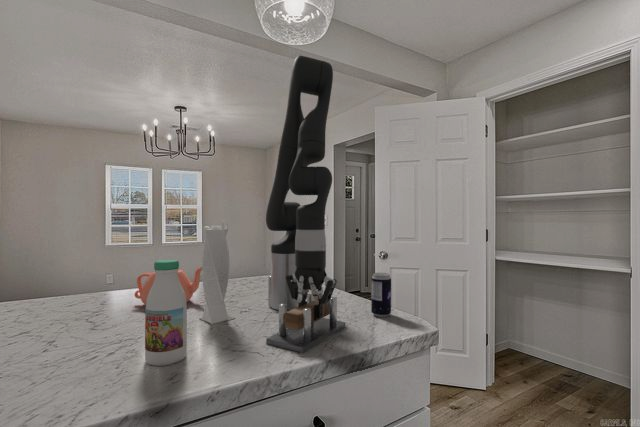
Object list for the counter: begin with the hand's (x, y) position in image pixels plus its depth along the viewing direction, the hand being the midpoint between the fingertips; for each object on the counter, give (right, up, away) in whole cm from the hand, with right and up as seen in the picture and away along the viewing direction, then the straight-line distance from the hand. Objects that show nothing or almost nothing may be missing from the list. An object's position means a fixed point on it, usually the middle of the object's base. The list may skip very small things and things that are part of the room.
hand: (310, 317), depth 84 cm
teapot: (-46, -4, +28) cm, 55 cm away
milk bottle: (-29, -4, -14) cm, 32 cm away
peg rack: (0, -4, 0) cm, 4 cm away
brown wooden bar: (0, 0, 0) cm, 0 cm away
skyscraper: (-26, -4, +11) cm, 29 cm away
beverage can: (+20, -4, +17) cm, 27 cm away
